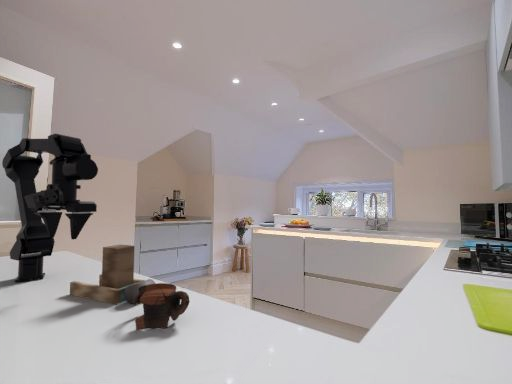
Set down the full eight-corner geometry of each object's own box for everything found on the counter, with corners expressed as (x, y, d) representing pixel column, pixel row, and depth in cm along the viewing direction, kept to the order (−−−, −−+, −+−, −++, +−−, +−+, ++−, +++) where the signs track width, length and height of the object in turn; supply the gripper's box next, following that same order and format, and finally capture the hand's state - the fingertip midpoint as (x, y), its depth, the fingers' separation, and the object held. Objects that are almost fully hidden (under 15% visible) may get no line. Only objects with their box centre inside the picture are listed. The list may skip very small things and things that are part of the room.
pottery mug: (117, 333, 49) (123, 286, 54) (149, 336, 57) (152, 295, 61) (178, 322, 47) (179, 274, 51) (202, 326, 55) (201, 284, 59)
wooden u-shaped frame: (69, 294, 68) (70, 278, 68) (102, 284, 76) (102, 270, 76) (131, 307, 60) (132, 288, 60) (160, 294, 68) (161, 278, 69)
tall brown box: (101, 296, 67) (102, 247, 67) (118, 290, 71) (120, 244, 72) (116, 299, 65) (117, 248, 65) (133, 293, 69) (134, 245, 70)
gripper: (9, 179, 71) (6, 239, 71) (55, 177, 64) (53, 244, 64) (54, 182, 82) (52, 235, 81) (99, 181, 74) (97, 239, 74)
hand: (62, 238), depth 75 cm, fingers open, 9 cm apart
